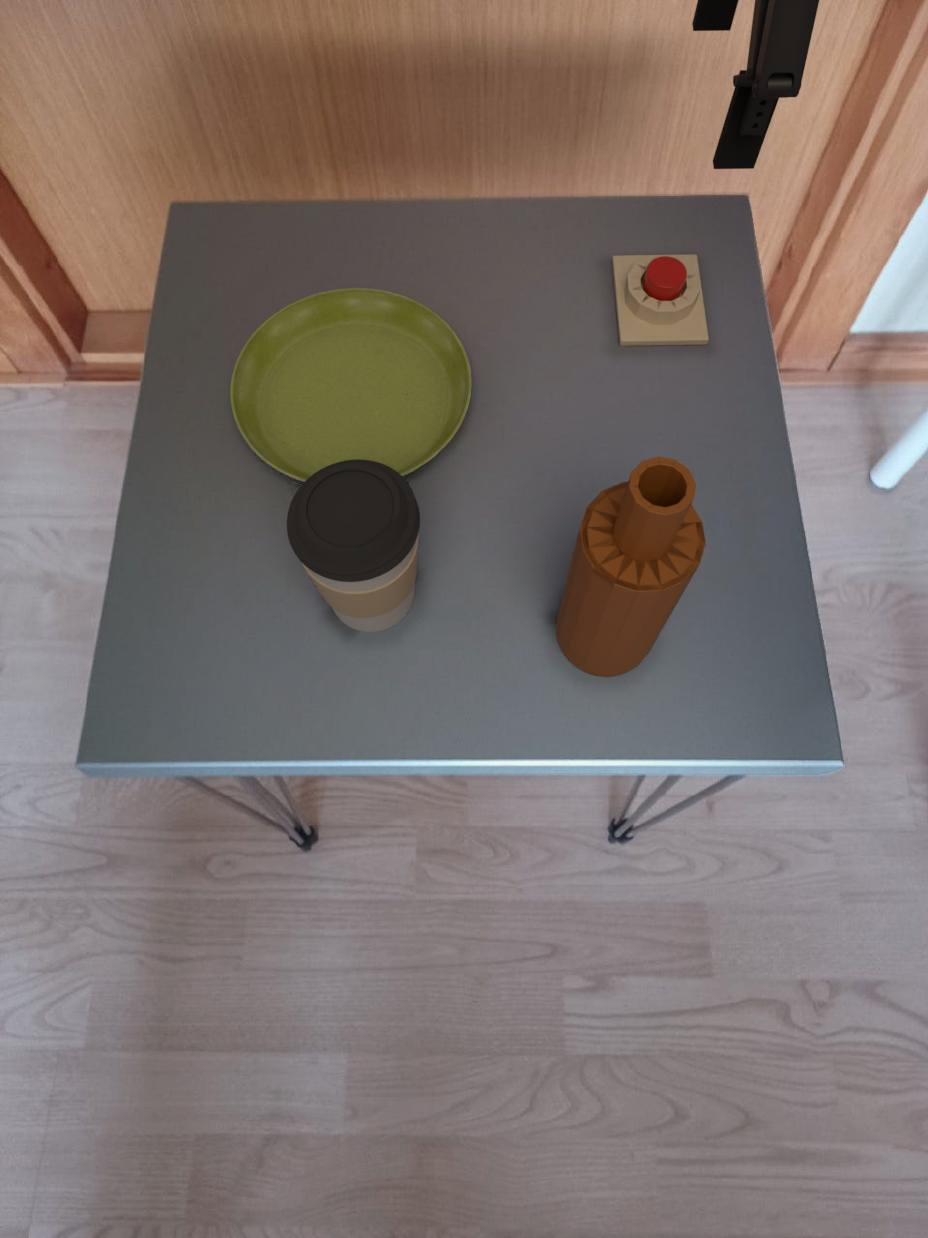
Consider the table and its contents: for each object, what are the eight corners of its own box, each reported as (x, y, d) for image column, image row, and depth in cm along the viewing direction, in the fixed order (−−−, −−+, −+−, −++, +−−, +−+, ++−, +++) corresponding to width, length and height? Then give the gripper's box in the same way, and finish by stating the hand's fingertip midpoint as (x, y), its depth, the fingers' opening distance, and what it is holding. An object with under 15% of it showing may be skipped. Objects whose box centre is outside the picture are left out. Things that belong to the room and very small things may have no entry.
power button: (684, 300, 79) (689, 287, 77) (644, 301, 79) (648, 287, 77) (680, 269, 80) (685, 255, 78) (641, 270, 80) (645, 255, 78)
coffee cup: (294, 589, 71) (251, 499, 57) (379, 522, 73) (357, 419, 59) (366, 667, 68) (338, 593, 54) (451, 596, 70) (446, 506, 56)
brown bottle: (671, 628, 69) (759, 480, 48) (610, 696, 67) (675, 574, 46) (597, 570, 71) (650, 403, 50) (536, 634, 69) (565, 489, 48)
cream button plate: (707, 344, 79) (714, 326, 77) (619, 346, 79) (623, 327, 77) (695, 259, 83) (701, 239, 81) (611, 260, 83) (615, 240, 81)
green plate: (464, 512, 73) (463, 493, 70) (221, 500, 74) (211, 480, 71) (477, 315, 81) (478, 290, 78) (257, 305, 81) (249, 280, 78)
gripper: (731, -444, 46) (653, -24, 66) (800, -157, 37) (686, 229, 57) (873, -446, 46) (752, -26, 66) (976, -159, 37) (800, 228, 57)
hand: (721, 93), depth 62 cm, fingers open, 13 cm apart
